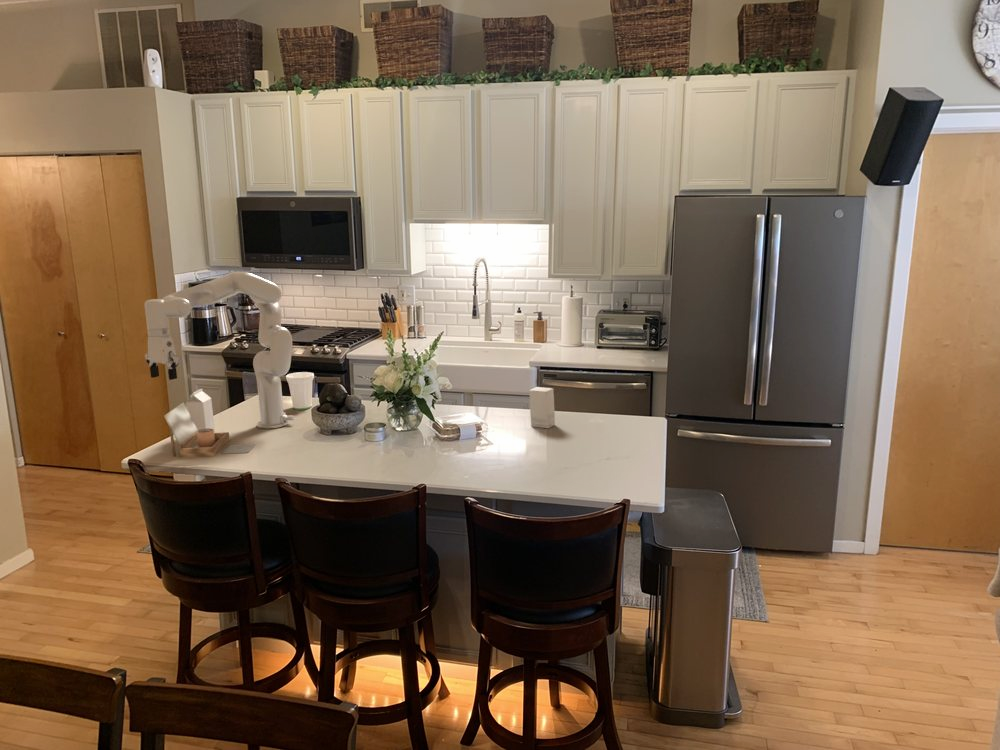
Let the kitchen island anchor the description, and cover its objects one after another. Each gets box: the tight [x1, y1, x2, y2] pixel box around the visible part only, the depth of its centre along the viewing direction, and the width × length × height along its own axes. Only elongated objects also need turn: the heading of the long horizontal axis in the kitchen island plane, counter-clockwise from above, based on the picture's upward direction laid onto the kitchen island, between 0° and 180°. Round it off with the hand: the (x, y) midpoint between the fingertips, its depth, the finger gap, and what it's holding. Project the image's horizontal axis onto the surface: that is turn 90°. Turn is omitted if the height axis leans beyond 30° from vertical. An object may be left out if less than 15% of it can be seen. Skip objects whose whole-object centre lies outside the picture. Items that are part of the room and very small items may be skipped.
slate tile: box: [220, 443, 256, 455], centre depth 285 cm, size 10×10×1 cm
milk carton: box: [185, 388, 216, 433], centre depth 303 cm, size 7×7×19 cm
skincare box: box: [528, 386, 556, 429], centre depth 306 cm, size 8×7×16 cm
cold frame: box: [163, 402, 230, 458], centre depth 286 cm, size 16×20×16 cm
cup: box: [285, 371, 315, 411], centre depth 345 cm, size 12×12×15 cm
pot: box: [197, 428, 215, 448], centre depth 287 cm, size 6×6×7 cm
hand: (164, 378), depth 282 cm, fingers open, 9 cm apart
